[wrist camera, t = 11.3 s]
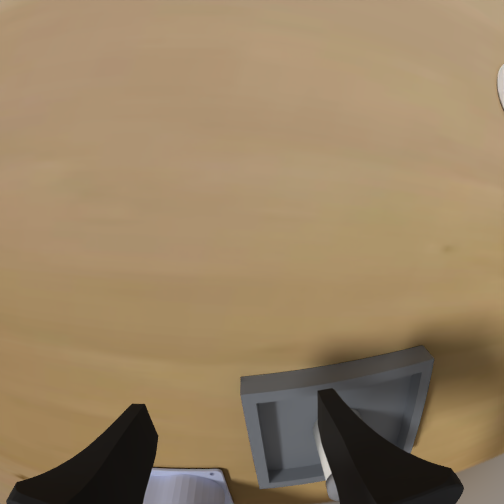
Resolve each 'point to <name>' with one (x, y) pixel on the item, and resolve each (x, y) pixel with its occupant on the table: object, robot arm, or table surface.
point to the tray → (306, 410)
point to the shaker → (326, 469)
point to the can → (501, 85)
